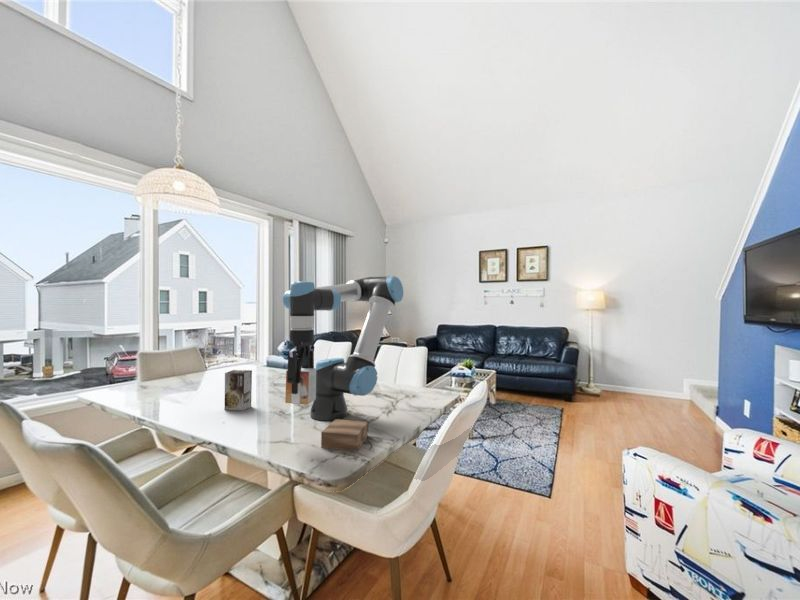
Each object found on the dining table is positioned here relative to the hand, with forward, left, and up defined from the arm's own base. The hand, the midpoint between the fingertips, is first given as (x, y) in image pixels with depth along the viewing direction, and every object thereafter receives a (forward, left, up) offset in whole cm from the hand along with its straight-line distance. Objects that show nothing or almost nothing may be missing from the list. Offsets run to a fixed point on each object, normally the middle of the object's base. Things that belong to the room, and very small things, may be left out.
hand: (300, 400), depth 105 cm
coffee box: (-29, -45, -15) cm, 56 cm away
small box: (0, 0, -1) cm, 1 cm away
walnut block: (-6, +13, -15) cm, 21 cm away
